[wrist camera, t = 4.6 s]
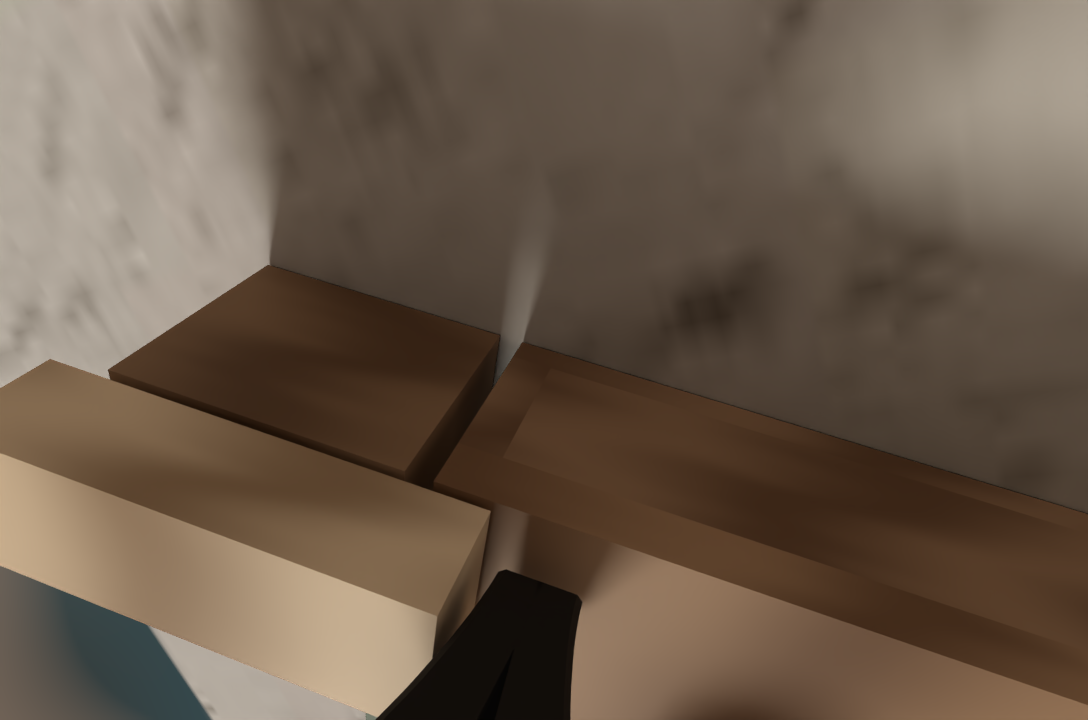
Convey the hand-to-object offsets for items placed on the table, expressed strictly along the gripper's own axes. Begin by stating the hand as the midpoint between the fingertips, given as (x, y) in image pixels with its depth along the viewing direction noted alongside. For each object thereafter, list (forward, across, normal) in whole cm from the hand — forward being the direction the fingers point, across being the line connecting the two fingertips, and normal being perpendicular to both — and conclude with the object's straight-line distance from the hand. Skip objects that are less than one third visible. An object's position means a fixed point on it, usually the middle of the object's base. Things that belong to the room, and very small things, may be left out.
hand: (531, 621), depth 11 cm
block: (0, +5, 0) cm, 5 cm away
